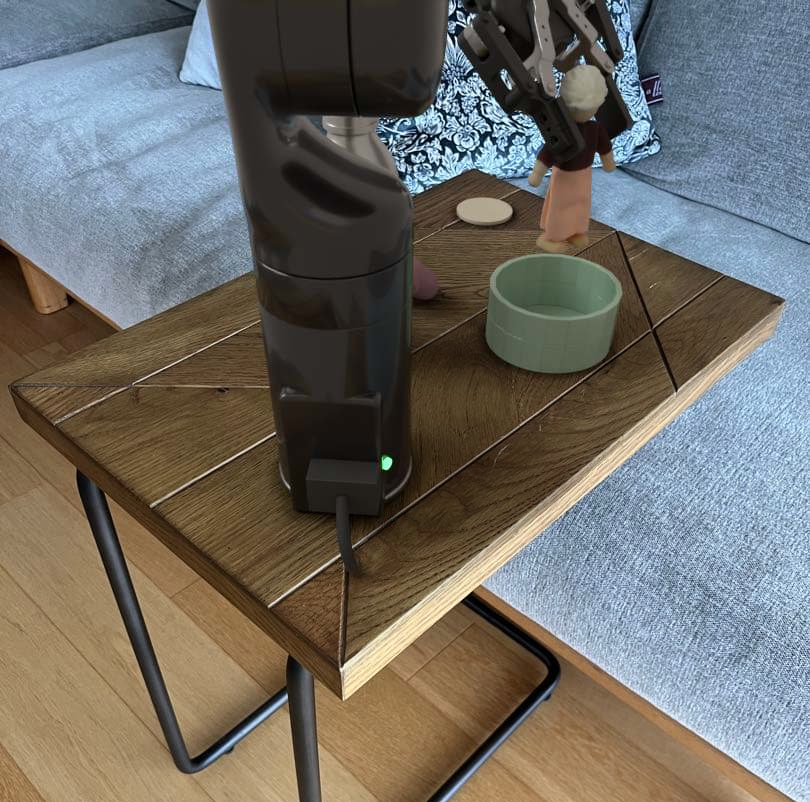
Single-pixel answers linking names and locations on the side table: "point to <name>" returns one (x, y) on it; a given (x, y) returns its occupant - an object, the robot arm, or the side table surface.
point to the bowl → (552, 312)
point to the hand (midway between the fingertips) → (597, 143)
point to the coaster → (484, 211)
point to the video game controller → (423, 281)
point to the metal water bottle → (360, 139)
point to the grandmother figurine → (573, 164)
